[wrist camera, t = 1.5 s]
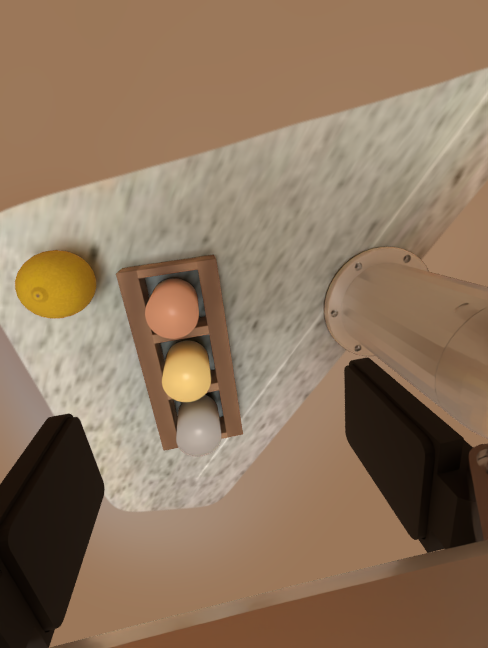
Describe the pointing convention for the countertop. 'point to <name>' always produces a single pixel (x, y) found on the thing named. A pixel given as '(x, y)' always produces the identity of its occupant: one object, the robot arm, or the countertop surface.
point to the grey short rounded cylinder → (198, 427)
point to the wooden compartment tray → (150, 342)
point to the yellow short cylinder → (186, 372)
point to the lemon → (55, 284)
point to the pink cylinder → (172, 309)
